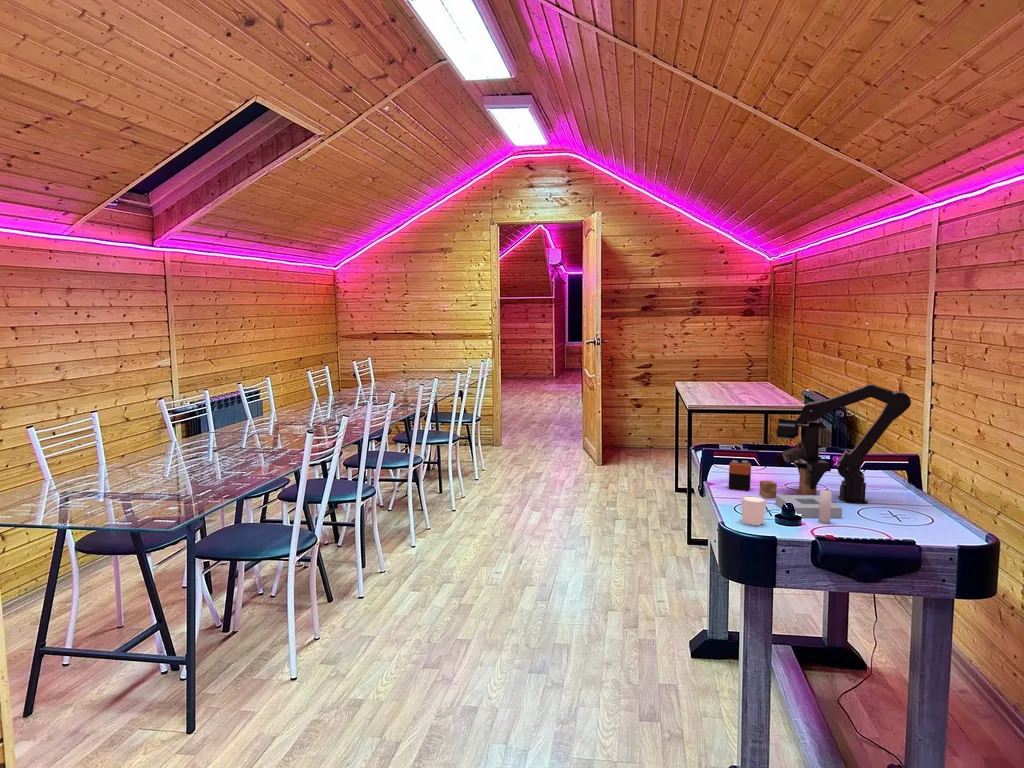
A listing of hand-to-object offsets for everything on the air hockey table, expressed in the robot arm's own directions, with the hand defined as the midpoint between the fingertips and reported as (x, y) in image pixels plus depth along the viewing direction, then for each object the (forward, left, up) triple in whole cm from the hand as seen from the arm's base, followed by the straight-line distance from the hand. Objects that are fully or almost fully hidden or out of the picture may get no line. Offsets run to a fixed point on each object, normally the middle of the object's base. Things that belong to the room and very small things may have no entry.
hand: (807, 486), depth 213 cm
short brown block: (+14, +2, -3) cm, 14 cm away
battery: (+20, -8, -3) cm, 22 cm away
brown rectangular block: (0, 0, -3) cm, 3 cm away
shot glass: (+29, +30, -3) cm, 42 cm away
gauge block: (+8, +21, -3) cm, 22 cm away
